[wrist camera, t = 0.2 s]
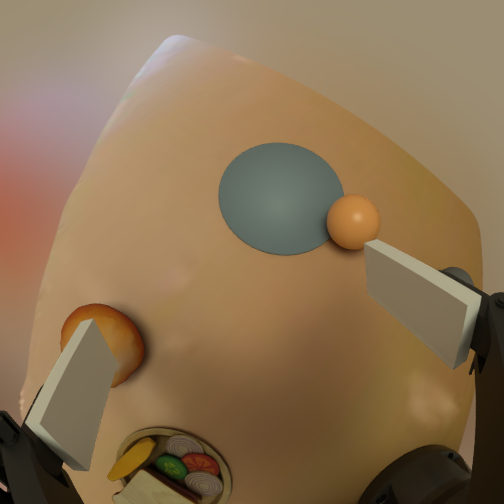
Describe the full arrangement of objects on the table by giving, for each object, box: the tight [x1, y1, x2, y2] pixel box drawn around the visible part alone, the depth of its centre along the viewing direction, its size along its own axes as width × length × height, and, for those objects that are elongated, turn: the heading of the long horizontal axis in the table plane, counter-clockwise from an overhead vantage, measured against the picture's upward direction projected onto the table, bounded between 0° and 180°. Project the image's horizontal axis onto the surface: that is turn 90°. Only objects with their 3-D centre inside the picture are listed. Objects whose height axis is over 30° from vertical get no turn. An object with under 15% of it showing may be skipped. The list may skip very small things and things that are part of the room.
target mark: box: [219, 143, 344, 255], centre depth 31 cm, size 14×14×1 cm
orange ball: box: [327, 195, 380, 250], centre depth 27 cm, size 6×6×6 cm
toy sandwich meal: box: [107, 428, 231, 504], centre depth 20 cm, size 12×14×5 cm
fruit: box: [60, 304, 144, 388], centre depth 23 cm, size 8×8×8 cm
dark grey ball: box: [442, 267, 474, 286], centre depth 25 cm, size 6×6×6 cm
